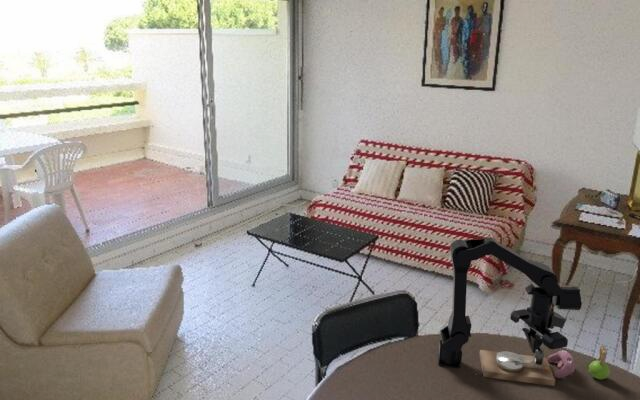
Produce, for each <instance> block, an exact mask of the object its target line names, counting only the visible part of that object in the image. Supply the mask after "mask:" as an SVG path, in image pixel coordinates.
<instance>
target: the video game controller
mask: <svg viewBox="0 0 640 400" xmlns="http://www.w3.org/2000/svg"><path fill="white" fill-rule="evenodd" d="M546 359H547V362H548V363H550V364H553V363H557V362H558V363H557V368H559V369H557V370H555V371H554V372H553V376H554V378H555V379H561V378H564V377H567V376H568V375H570V374H573V373H574V372H575V370H576V364H575V362H574V357H573V355H572V354H570V353H569V352H568V351H567V350H563V349H562V350H558V351H557V352H556V353H552V354H551V355H549V356H548V357H546Z"/></svg>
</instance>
